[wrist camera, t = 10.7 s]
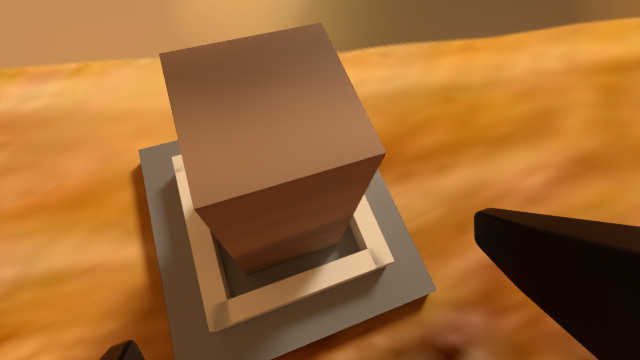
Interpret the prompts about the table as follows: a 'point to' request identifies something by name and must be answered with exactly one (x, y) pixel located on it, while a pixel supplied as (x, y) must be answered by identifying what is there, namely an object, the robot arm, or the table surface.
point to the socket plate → (272, 274)
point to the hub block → (271, 142)
